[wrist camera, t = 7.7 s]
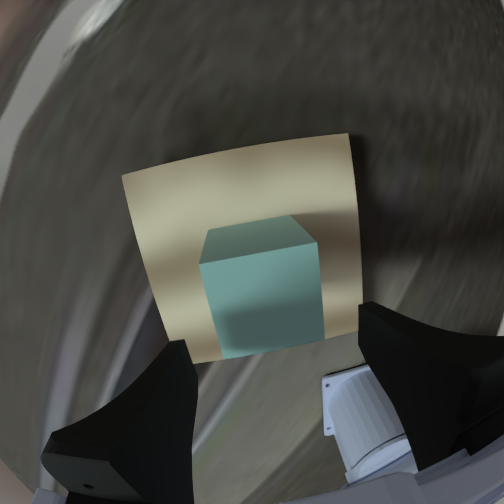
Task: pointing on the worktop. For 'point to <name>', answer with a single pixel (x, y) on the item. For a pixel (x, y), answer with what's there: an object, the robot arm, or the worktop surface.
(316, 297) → the teal block
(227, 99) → the worktop surface
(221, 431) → the worktop surface
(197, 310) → the birch base board
